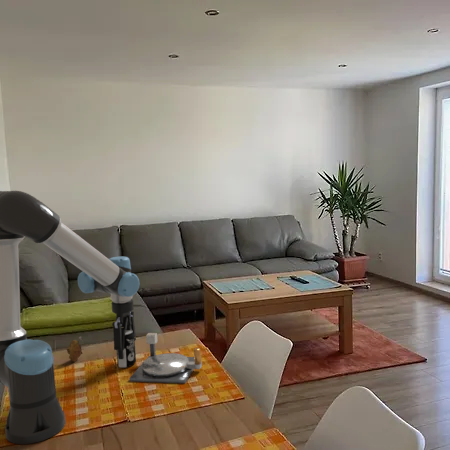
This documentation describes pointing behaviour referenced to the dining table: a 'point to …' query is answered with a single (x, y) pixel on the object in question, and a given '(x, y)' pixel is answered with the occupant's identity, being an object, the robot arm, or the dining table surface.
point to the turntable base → (176, 378)
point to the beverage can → (129, 348)
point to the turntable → (170, 364)
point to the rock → (75, 350)
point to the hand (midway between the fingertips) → (126, 362)
